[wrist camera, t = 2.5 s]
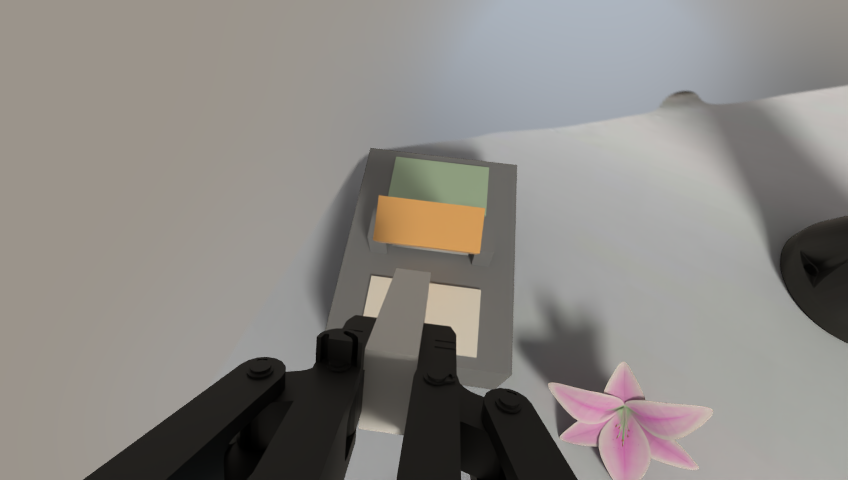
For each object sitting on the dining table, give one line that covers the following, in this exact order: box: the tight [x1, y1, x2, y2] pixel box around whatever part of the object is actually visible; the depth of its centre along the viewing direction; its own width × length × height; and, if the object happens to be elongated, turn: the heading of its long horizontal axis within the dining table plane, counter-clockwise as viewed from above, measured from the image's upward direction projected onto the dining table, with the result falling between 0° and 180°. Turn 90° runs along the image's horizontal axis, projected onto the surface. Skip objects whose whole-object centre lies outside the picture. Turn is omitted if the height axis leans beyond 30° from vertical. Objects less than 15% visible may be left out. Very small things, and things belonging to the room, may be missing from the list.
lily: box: [548, 362, 713, 480], centre depth 36 cm, size 12×12×10 cm
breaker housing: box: [325, 148, 517, 389], centre depth 41 cm, size 22×16×11 cm
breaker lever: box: [373, 195, 485, 256], centre depth 32 cm, size 3×7×14 cm, turn 83°
